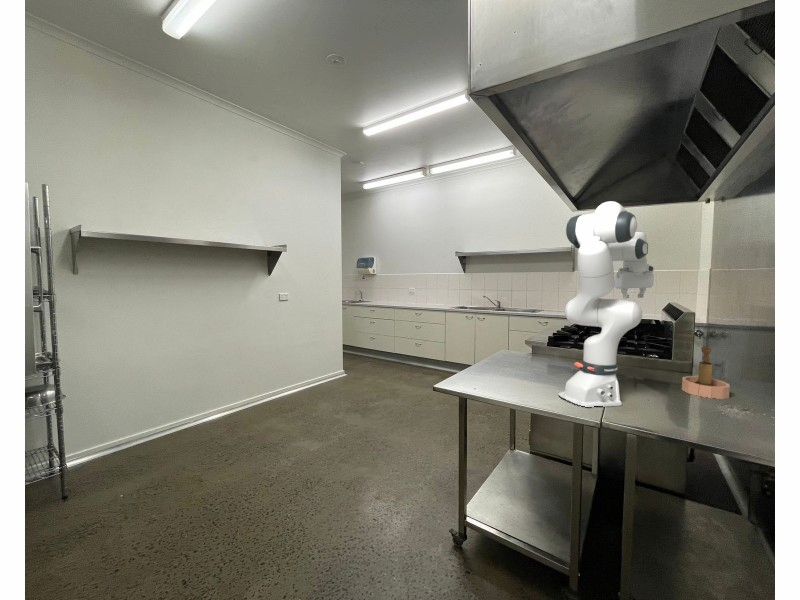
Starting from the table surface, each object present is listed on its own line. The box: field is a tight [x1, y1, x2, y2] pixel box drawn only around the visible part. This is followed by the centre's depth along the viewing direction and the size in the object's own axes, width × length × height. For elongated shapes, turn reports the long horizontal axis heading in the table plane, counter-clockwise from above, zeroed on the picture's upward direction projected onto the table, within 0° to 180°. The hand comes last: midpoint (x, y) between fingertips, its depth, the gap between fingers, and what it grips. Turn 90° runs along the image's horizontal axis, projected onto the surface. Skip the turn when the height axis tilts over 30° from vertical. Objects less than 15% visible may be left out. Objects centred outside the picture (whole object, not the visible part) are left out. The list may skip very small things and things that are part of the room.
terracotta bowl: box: [681, 375, 731, 400], centre depth 134 cm, size 14×14×4 cm
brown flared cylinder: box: [694, 345, 714, 386], centre depth 134 cm, size 7×6×18 cm
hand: (633, 298), depth 153 cm, fingers open, 8 cm apart
